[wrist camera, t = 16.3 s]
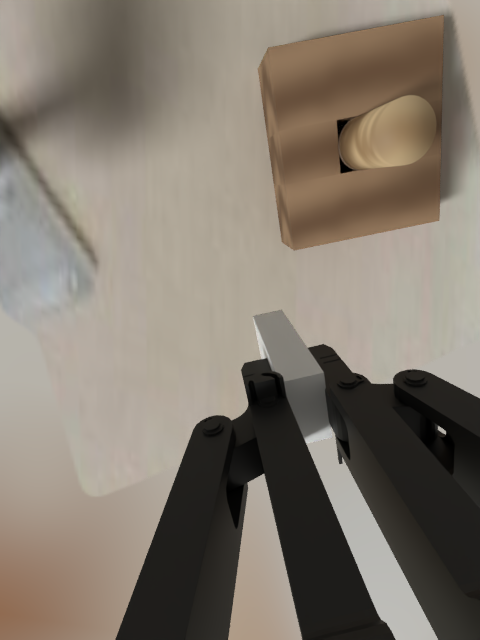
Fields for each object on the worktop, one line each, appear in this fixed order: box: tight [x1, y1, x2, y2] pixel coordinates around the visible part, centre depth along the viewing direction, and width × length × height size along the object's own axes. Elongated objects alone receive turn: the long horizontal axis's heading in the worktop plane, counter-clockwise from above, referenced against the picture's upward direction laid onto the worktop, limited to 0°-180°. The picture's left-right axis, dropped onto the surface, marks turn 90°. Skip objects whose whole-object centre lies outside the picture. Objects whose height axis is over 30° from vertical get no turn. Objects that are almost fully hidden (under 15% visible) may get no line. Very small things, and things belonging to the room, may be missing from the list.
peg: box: [338, 95, 436, 170], centre depth 34 cm, size 5×5×14 cm
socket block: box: [258, 15, 444, 250], centre depth 37 cm, size 18×16×6 cm
